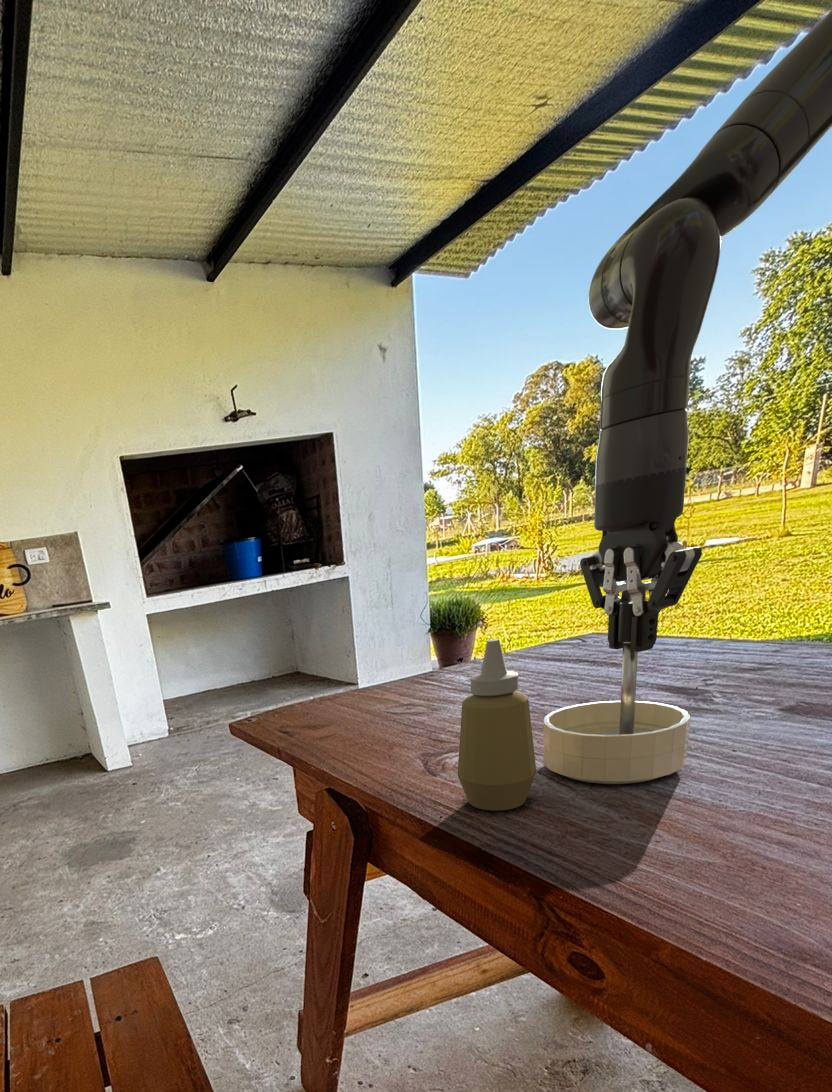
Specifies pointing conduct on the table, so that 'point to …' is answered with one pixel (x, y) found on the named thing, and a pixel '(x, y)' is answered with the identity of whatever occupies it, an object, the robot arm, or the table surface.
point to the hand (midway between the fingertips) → (630, 648)
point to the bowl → (615, 742)
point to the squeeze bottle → (496, 737)
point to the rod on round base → (626, 674)
